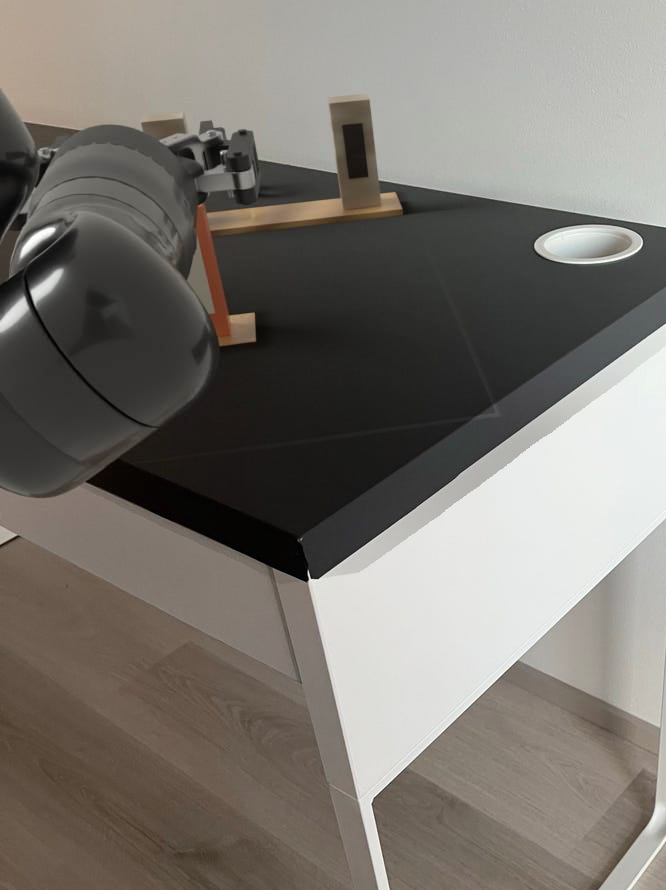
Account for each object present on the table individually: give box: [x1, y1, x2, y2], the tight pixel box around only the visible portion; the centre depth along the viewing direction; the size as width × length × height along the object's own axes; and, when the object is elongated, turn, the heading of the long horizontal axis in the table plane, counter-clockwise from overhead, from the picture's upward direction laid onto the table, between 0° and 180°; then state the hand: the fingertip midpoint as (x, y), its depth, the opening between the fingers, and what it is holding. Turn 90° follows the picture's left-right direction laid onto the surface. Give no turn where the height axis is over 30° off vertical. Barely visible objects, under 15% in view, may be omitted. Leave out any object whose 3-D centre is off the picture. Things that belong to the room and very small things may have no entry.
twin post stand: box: [140, 93, 404, 238], centre depth 100 cm, size 26×6×11 cm, turn 101°
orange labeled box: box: [187, 202, 231, 337], centre depth 77 cm, size 4×3×10 cm
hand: (140, 146), depth 61 cm, fingers open, 8 cm apart
